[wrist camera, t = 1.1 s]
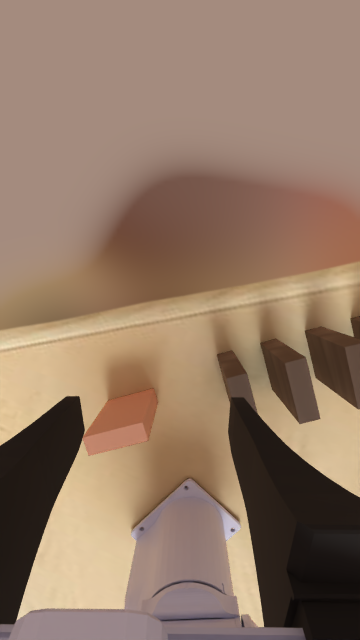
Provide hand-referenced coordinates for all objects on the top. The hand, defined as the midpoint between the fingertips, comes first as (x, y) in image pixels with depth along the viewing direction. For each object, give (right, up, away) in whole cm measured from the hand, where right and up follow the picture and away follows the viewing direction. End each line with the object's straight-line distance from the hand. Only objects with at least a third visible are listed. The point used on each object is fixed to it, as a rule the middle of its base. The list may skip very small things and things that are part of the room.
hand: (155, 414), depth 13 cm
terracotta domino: (-4, -4, +16) cm, 17 cm away
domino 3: (+15, +1, +14) cm, 21 cm away
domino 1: (+6, -1, +15) cm, 16 cm away
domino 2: (+11, 0, +15) cm, 18 cm away
